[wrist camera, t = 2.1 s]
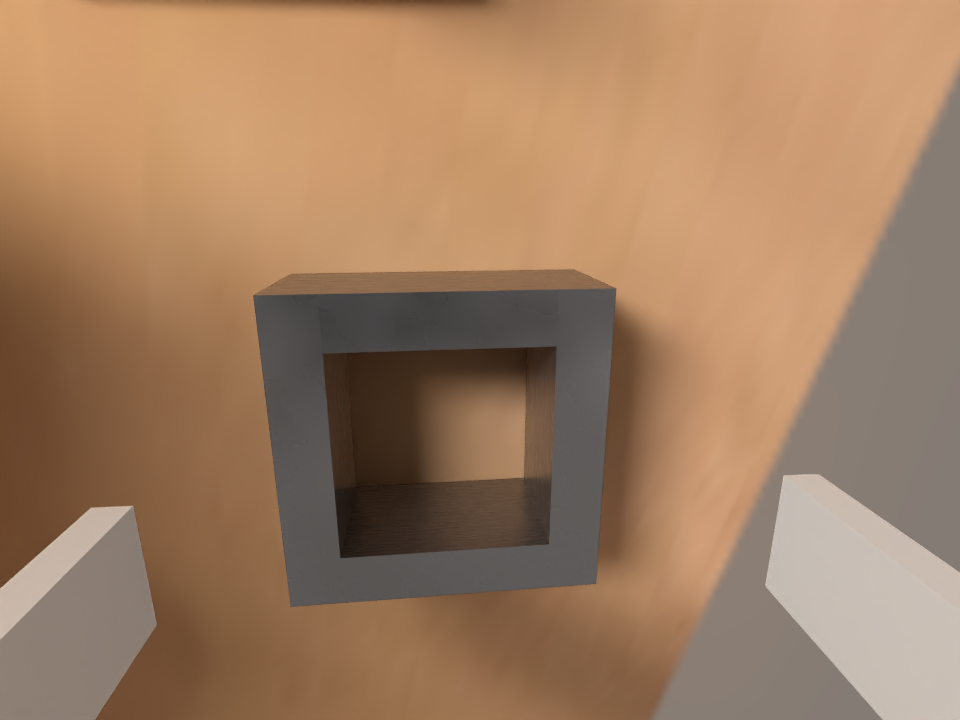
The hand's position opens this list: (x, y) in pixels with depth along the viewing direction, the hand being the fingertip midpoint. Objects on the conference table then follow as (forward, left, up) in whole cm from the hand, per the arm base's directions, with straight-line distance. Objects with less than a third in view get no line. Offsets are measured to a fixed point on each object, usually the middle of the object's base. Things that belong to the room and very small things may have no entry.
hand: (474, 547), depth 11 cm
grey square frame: (0, 0, -8) cm, 8 cm away
